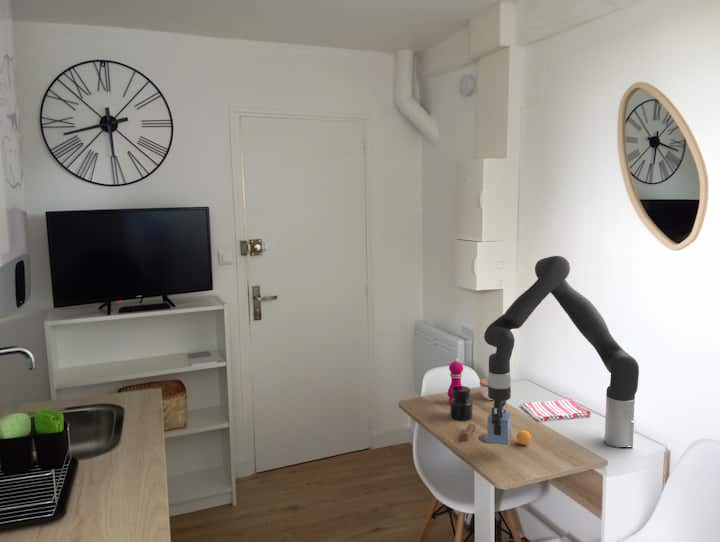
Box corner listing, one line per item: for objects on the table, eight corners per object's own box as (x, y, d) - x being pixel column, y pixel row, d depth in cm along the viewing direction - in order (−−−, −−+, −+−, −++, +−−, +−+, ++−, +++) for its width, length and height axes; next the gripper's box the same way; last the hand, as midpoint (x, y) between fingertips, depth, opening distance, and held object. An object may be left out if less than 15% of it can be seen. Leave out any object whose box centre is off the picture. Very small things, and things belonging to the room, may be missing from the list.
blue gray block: (511, 437, 196) (511, 413, 194) (507, 445, 189) (507, 420, 188) (491, 434, 198) (491, 410, 197) (487, 442, 192) (487, 417, 191)
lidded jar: (488, 392, 256) (489, 372, 254) (509, 398, 248) (509, 377, 247) (474, 398, 248) (474, 378, 247) (495, 404, 241) (495, 383, 239)
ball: (531, 442, 203) (532, 429, 203) (529, 448, 199) (530, 434, 198) (517, 440, 205) (517, 427, 205) (515, 445, 201) (515, 432, 200)
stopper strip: (474, 430, 214) (474, 424, 214) (468, 441, 205) (468, 434, 205) (469, 429, 215) (469, 423, 215) (462, 440, 206) (462, 433, 206)
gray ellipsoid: (503, 436, 209) (503, 435, 209) (499, 444, 202) (499, 444, 202) (481, 432, 212) (481, 432, 212) (476, 441, 205) (476, 440, 205)
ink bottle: (474, 414, 231) (474, 386, 229) (473, 422, 222) (473, 393, 221) (450, 412, 233) (450, 384, 232) (448, 420, 225) (448, 391, 223)
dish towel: (592, 418, 225) (593, 410, 225) (538, 423, 221) (538, 415, 221) (570, 403, 242) (570, 395, 241) (519, 408, 238) (519, 400, 237)
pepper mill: (446, 400, 246) (446, 356, 244) (463, 400, 246) (463, 356, 244) (448, 406, 239) (448, 361, 237) (465, 406, 239) (466, 361, 236)
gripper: (506, 392, 183) (506, 440, 186) (514, 379, 196) (514, 424, 198) (483, 389, 187) (484, 437, 189) (492, 376, 199) (492, 421, 202)
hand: (499, 430), depth 194 cm, fingers closed on blue gray block, 7 cm apart
